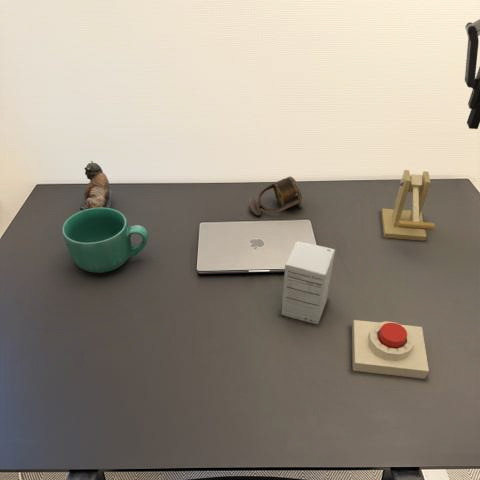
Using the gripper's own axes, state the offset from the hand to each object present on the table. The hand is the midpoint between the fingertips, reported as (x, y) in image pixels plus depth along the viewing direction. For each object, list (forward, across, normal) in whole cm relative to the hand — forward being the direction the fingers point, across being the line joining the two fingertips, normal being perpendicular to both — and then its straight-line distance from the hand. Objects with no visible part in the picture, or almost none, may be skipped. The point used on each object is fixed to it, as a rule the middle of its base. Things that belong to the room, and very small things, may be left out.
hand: (472, 125), depth 89 cm
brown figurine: (+25, +79, +3) cm, 83 cm away
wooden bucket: (+25, +37, -5) cm, 45 cm away
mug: (+25, +69, +21) cm, 76 cm away
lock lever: (+16, +7, +3) cm, 18 cm away
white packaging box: (+25, +28, +29) cm, 47 cm away
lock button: (+21, +13, +38) cm, 45 cm away
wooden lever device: (+24, +7, -1) cm, 25 cm away
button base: (+24, +13, +38) cm, 47 cm away
